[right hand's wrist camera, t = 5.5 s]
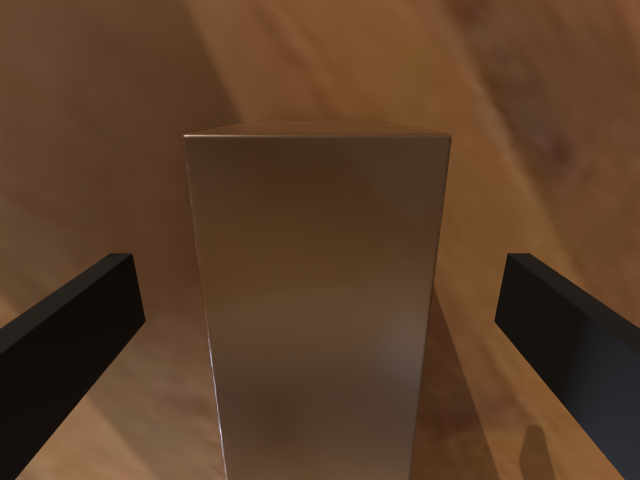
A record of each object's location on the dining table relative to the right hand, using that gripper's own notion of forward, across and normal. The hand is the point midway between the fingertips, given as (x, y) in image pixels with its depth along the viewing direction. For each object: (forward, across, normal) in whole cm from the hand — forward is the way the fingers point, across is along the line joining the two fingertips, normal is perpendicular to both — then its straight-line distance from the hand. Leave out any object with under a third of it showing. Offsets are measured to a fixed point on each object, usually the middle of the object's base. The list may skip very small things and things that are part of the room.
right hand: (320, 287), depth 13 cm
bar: (+3, 0, -25) cm, 26 cm away
